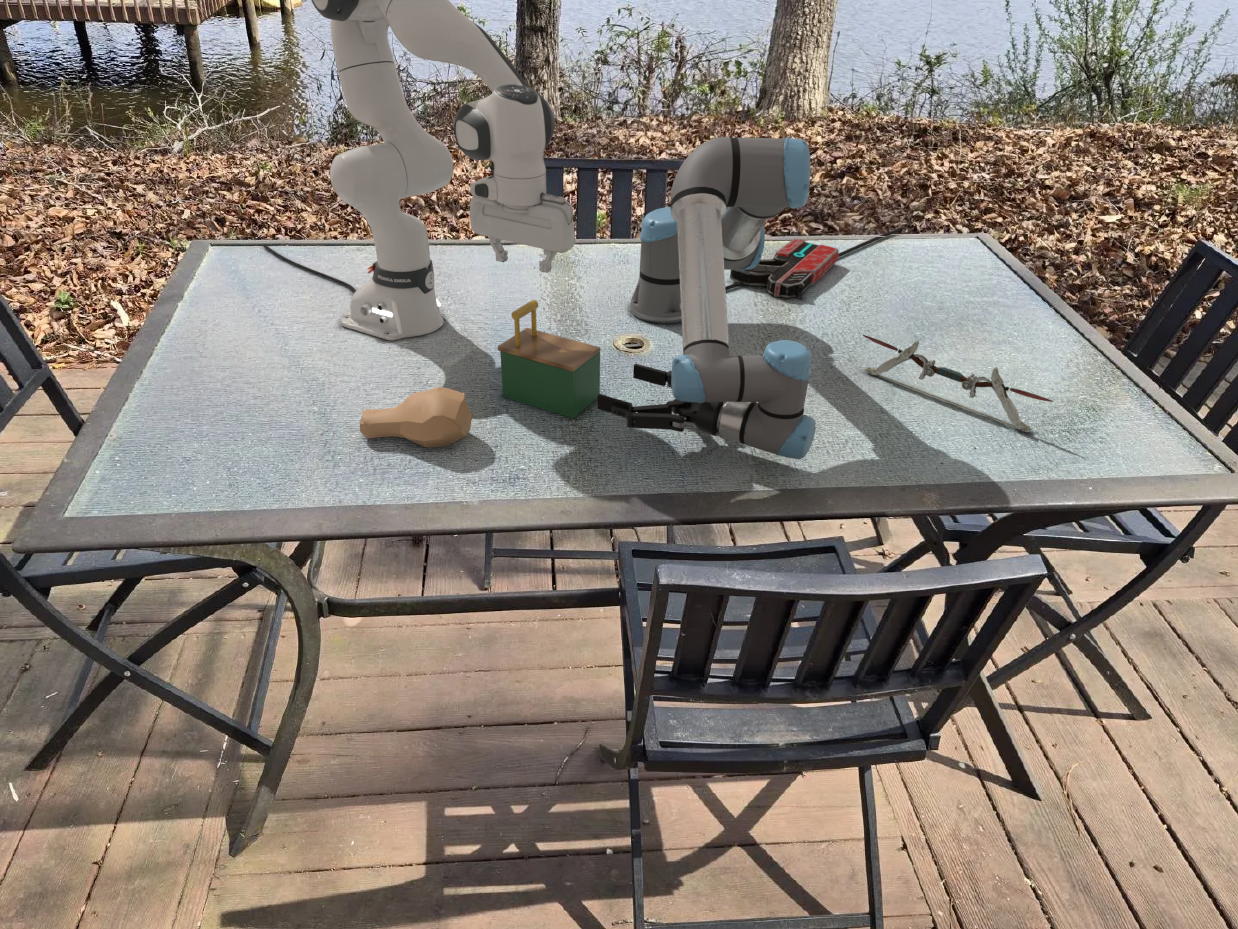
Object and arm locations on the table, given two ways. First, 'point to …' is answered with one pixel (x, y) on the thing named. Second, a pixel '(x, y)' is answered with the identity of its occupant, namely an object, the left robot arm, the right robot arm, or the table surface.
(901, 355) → the bow
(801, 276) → the gun
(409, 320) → the left robot arm
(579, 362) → the lid
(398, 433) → the squash
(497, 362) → the table surface
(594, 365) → the chest
